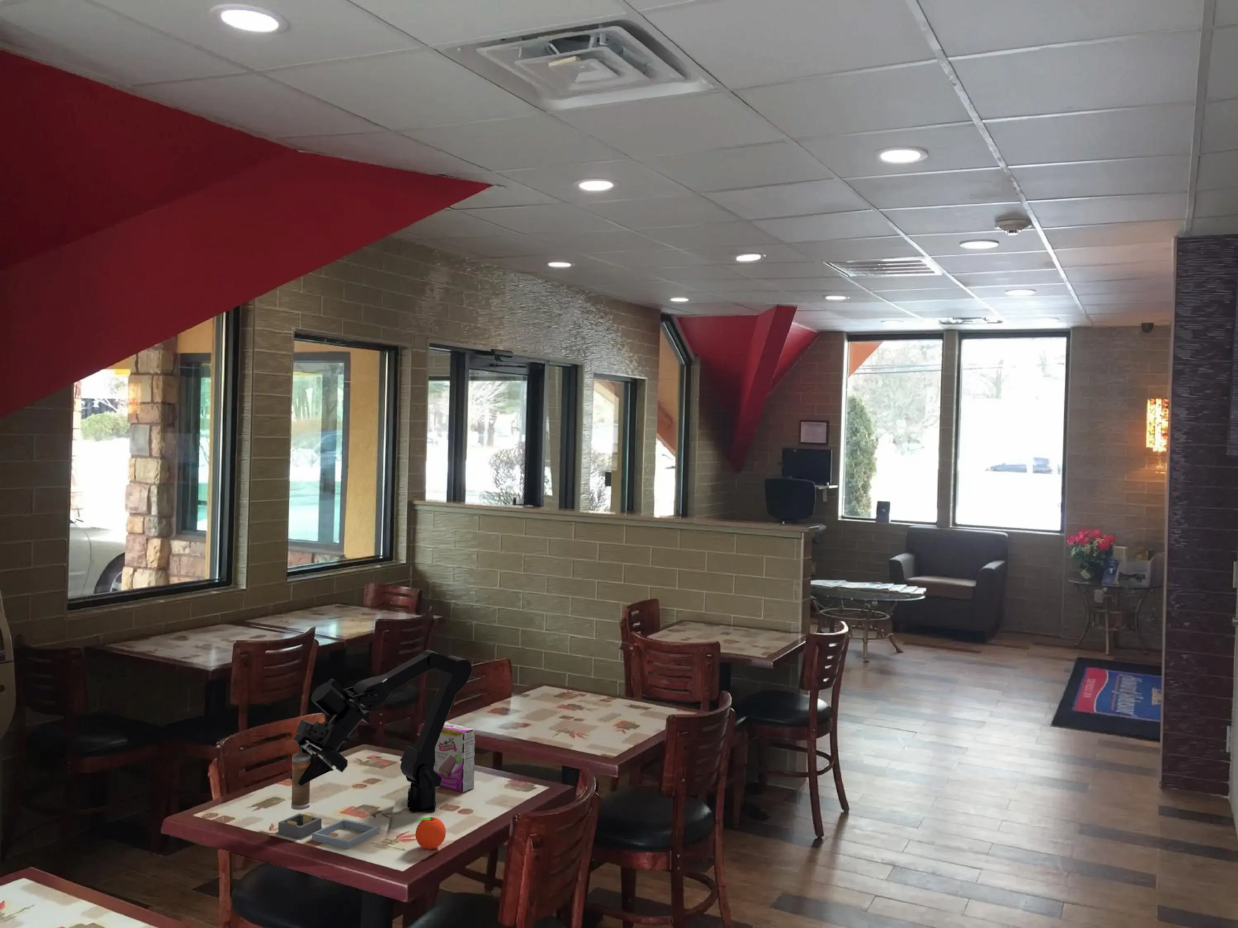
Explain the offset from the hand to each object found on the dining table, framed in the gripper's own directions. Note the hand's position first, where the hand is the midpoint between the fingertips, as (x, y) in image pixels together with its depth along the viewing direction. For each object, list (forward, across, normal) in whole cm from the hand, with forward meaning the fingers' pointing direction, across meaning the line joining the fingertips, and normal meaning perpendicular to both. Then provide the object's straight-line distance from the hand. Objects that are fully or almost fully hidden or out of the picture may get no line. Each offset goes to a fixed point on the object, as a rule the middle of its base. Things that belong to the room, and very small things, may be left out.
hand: (295, 781), depth 234 cm
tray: (+4, +10, +15) cm, 18 cm away
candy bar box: (-25, -9, +44) cm, 51 cm away
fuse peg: (+3, 0, +5) cm, 6 cm away
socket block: (+8, 0, +10) cm, 13 cm away
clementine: (-6, +23, +25) cm, 35 cm away
